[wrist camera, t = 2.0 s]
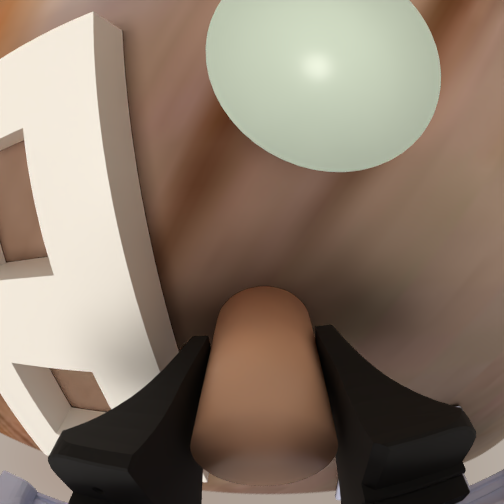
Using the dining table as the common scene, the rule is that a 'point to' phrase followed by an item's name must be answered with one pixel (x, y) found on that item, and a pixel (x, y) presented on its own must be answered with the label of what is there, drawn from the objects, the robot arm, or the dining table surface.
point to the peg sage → (325, 78)
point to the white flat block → (77, 233)
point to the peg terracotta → (264, 394)
